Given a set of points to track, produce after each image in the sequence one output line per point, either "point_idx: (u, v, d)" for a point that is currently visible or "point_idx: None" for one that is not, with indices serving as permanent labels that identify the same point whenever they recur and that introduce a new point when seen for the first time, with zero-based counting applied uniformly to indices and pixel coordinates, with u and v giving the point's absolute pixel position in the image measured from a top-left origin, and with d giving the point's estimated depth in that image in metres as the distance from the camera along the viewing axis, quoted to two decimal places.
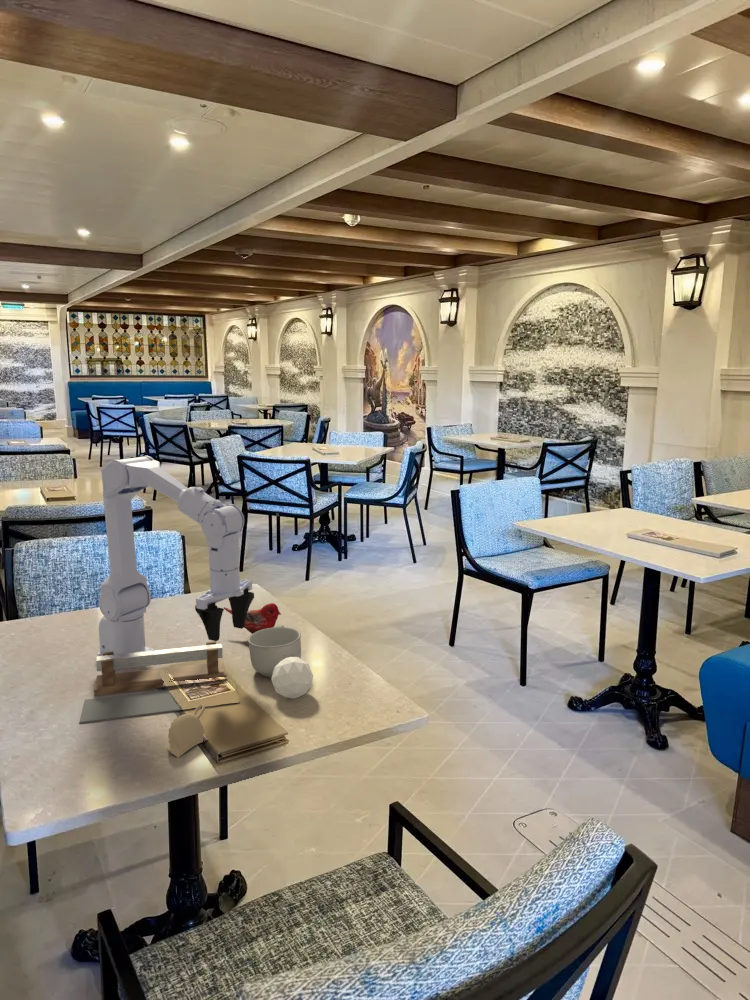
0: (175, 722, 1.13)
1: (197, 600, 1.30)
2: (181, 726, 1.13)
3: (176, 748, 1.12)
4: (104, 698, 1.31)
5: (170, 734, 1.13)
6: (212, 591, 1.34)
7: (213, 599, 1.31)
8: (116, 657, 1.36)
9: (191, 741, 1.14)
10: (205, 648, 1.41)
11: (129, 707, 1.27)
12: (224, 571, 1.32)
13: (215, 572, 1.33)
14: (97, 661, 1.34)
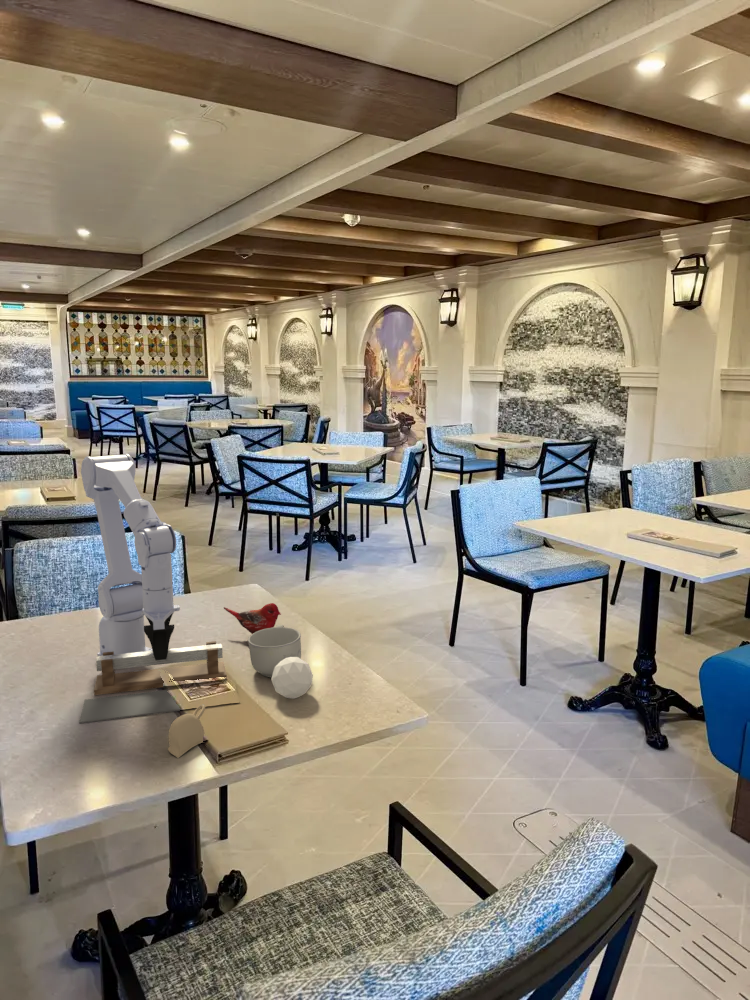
0: (175, 722, 1.13)
1: (156, 621, 1.30)
2: (181, 726, 1.13)
3: (176, 748, 1.12)
4: (104, 698, 1.31)
5: (170, 734, 1.12)
6: (154, 612, 1.34)
7: (166, 617, 1.33)
8: (116, 657, 1.36)
9: (191, 741, 1.13)
10: (205, 648, 1.41)
11: (129, 707, 1.27)
12: (167, 588, 1.35)
13: (158, 591, 1.34)
14: (97, 661, 1.34)
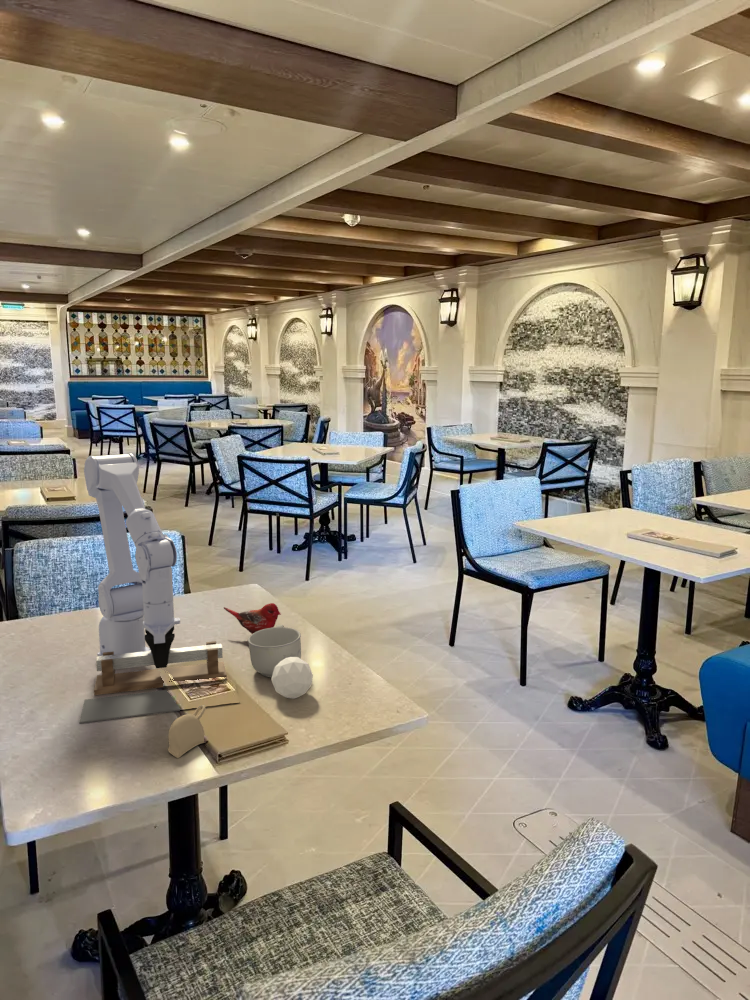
0: (175, 723, 1.13)
1: (156, 635, 1.31)
2: (181, 726, 1.13)
3: (176, 749, 1.12)
4: (104, 698, 1.31)
5: (170, 735, 1.12)
6: (154, 625, 1.35)
7: (166, 631, 1.33)
8: (116, 657, 1.36)
9: (191, 742, 1.13)
10: (205, 648, 1.41)
11: (129, 707, 1.27)
12: (167, 602, 1.35)
13: (159, 605, 1.34)
14: (97, 661, 1.34)
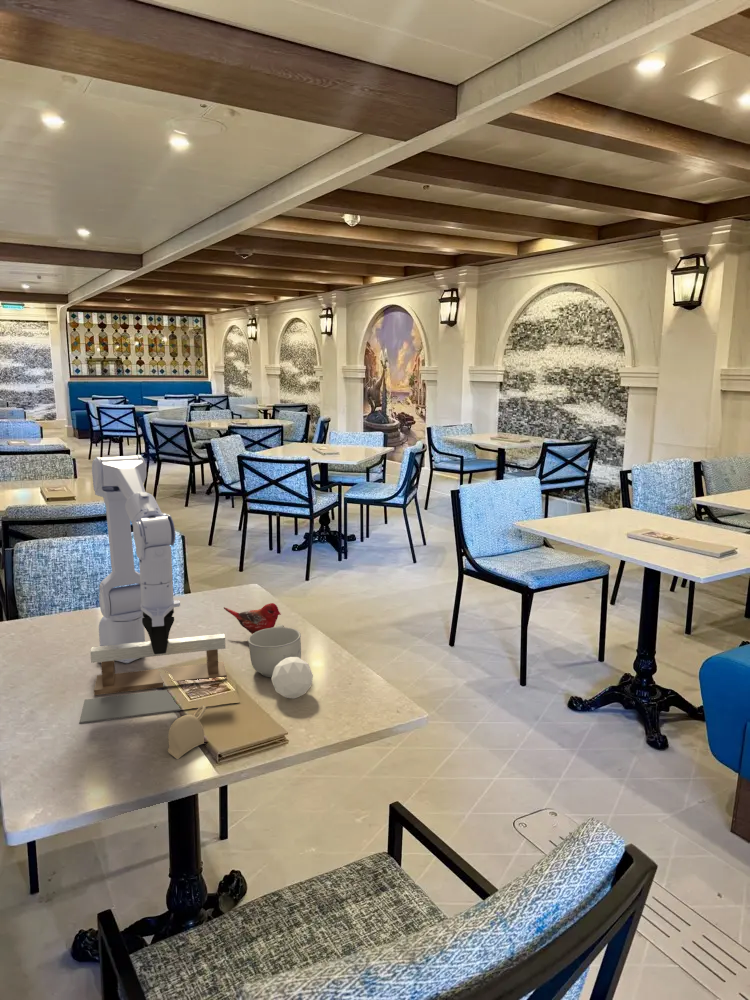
0: (175, 723, 1.13)
1: (155, 618, 1.22)
2: (181, 727, 1.12)
3: (175, 749, 1.12)
4: (104, 698, 1.31)
5: (170, 735, 1.12)
6: (152, 607, 1.26)
7: (165, 613, 1.24)
8: (112, 648, 1.27)
9: (191, 743, 1.13)
10: (207, 638, 1.32)
11: (129, 707, 1.27)
12: (167, 583, 1.26)
13: (157, 586, 1.25)
14: (91, 652, 1.25)
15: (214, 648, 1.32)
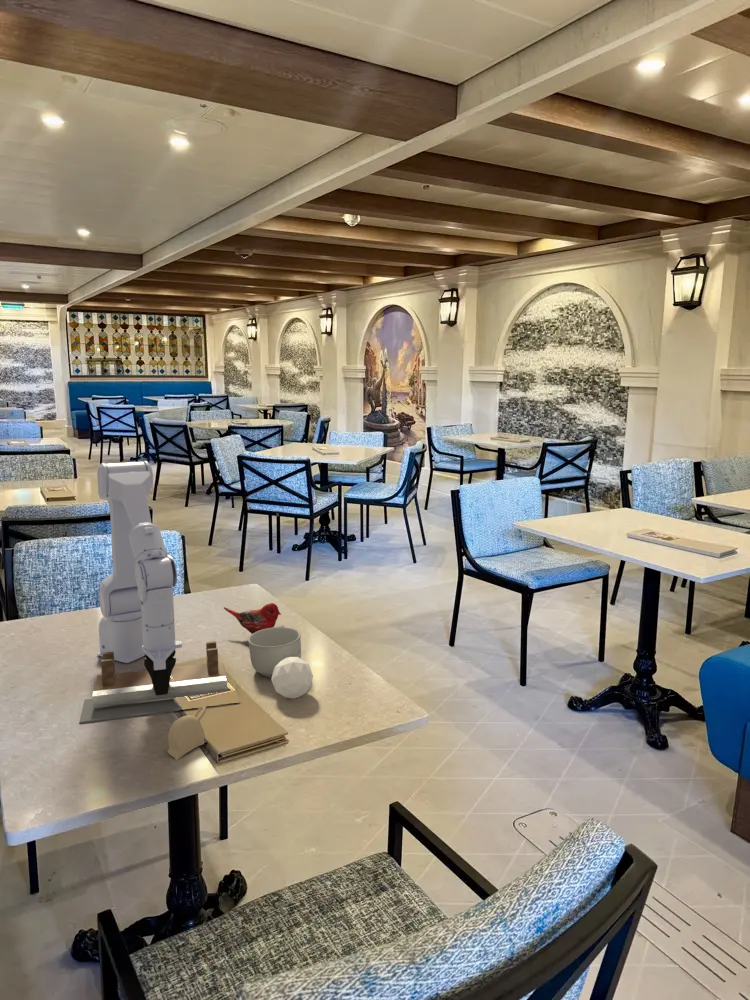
0: (175, 724, 1.12)
1: (156, 661, 1.21)
2: (181, 728, 1.12)
3: (175, 750, 1.11)
4: None
5: (169, 736, 1.12)
6: (154, 649, 1.25)
7: (167, 656, 1.24)
8: (114, 692, 1.27)
9: (190, 743, 1.13)
10: (209, 681, 1.32)
11: (129, 707, 1.27)
12: (168, 624, 1.26)
13: (159, 628, 1.25)
14: (93, 697, 1.25)
15: (216, 691, 1.32)
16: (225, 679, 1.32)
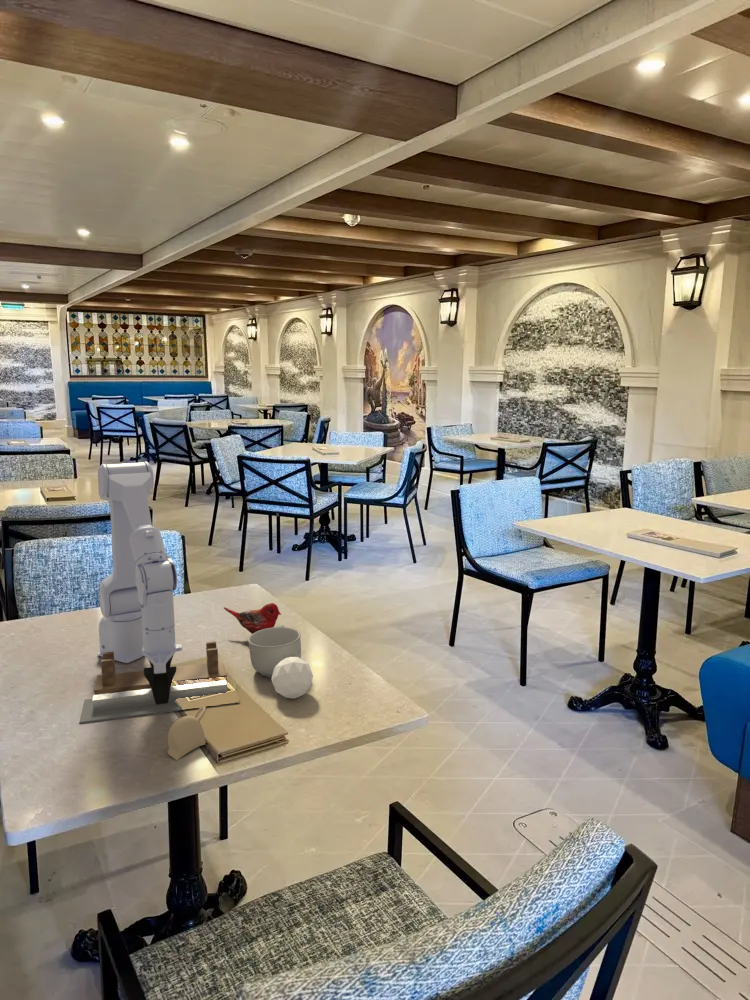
0: (174, 724, 1.12)
1: (156, 665, 1.21)
2: (181, 728, 1.12)
3: (175, 750, 1.11)
4: None
5: (169, 736, 1.12)
6: (154, 653, 1.25)
7: (167, 659, 1.24)
8: (114, 696, 1.27)
9: (190, 744, 1.13)
10: (209, 685, 1.32)
11: (129, 707, 1.27)
12: (168, 628, 1.26)
13: (159, 631, 1.25)
14: (93, 701, 1.25)
15: None
16: (225, 683, 1.33)
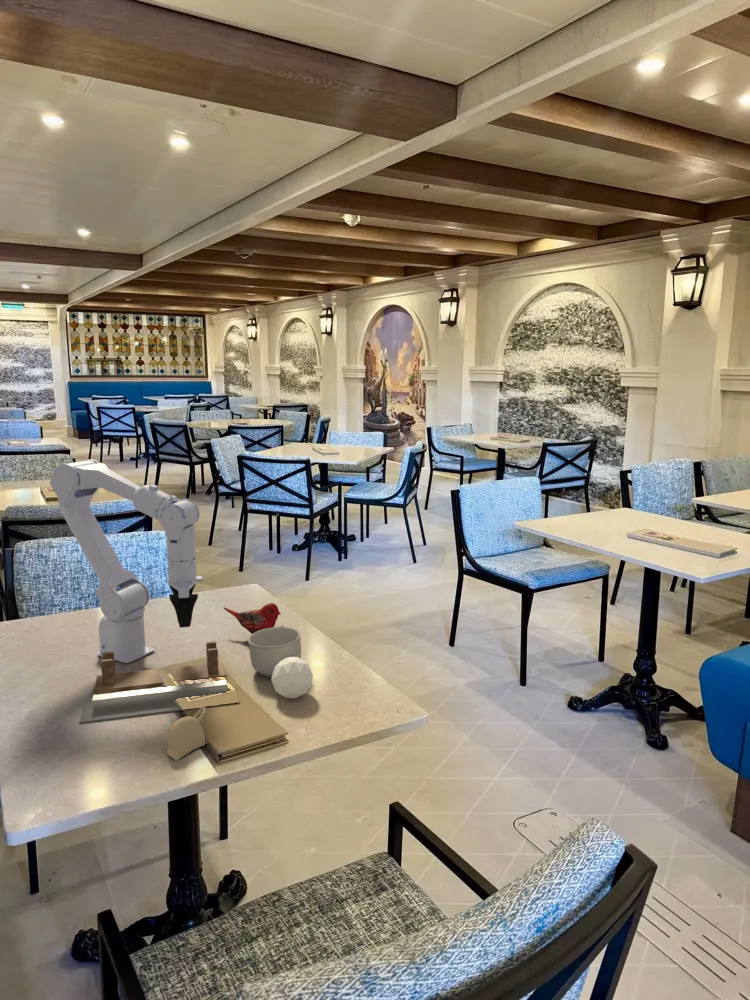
0: (174, 725, 1.12)
1: (181, 590, 1.38)
2: (181, 729, 1.12)
3: (175, 751, 1.11)
4: None
5: (169, 737, 1.12)
6: (178, 582, 1.42)
7: (190, 587, 1.41)
8: (114, 696, 1.27)
9: (190, 745, 1.13)
10: (209, 685, 1.32)
11: (129, 707, 1.27)
12: (191, 560, 1.43)
13: (183, 563, 1.42)
14: (93, 701, 1.25)
15: None
16: (225, 683, 1.33)
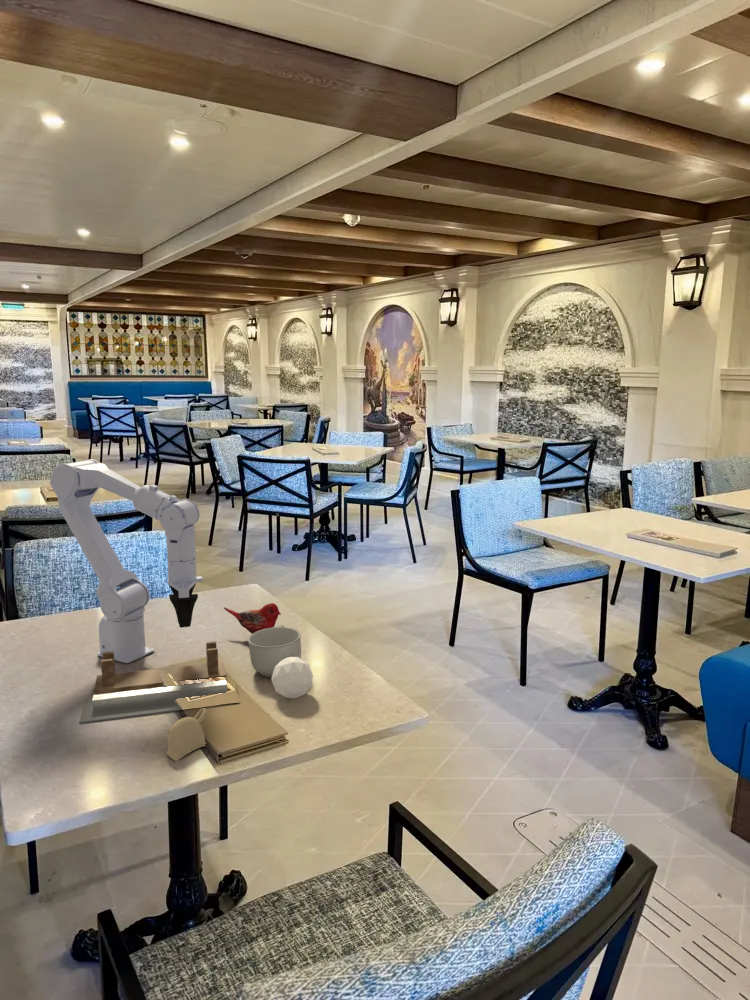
0: (174, 725, 1.12)
1: (181, 590, 1.38)
2: (180, 729, 1.12)
3: (174, 752, 1.11)
4: None
5: (169, 737, 1.11)
6: (178, 582, 1.42)
7: (190, 587, 1.41)
8: (114, 696, 1.27)
9: (190, 745, 1.12)
10: (209, 685, 1.32)
11: (129, 707, 1.27)
12: (191, 560, 1.43)
13: (183, 563, 1.42)
14: (93, 701, 1.25)
15: None
16: (225, 683, 1.33)
